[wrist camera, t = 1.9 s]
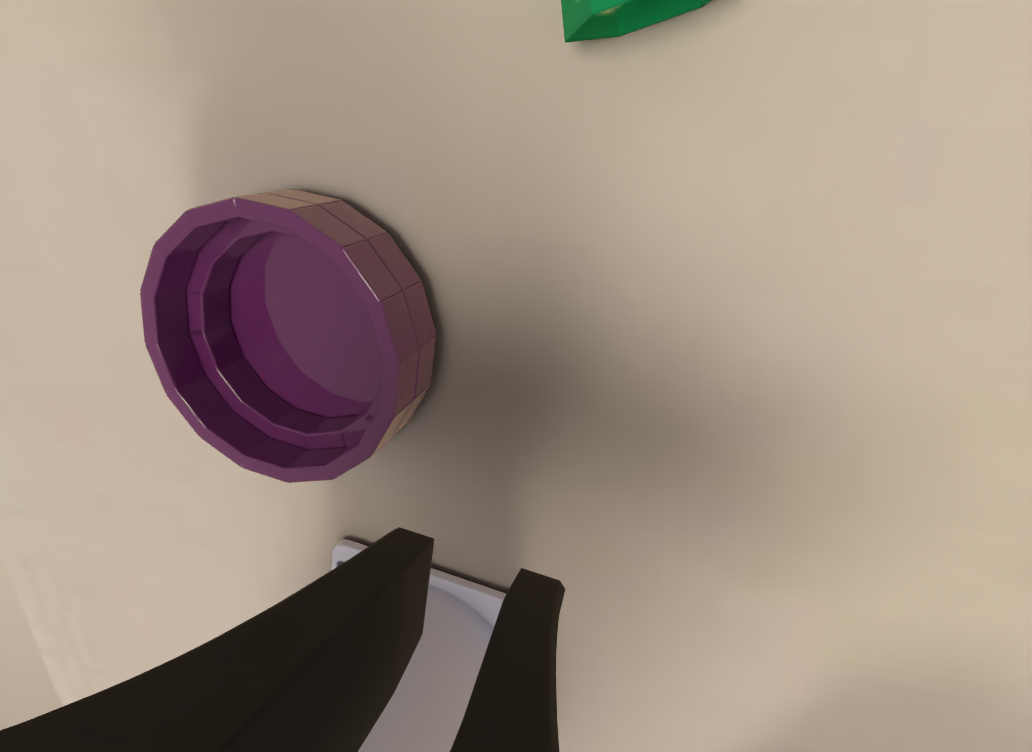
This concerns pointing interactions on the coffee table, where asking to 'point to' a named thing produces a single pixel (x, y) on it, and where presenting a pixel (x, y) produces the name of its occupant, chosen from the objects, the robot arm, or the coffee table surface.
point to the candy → (618, 16)
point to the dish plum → (287, 331)
